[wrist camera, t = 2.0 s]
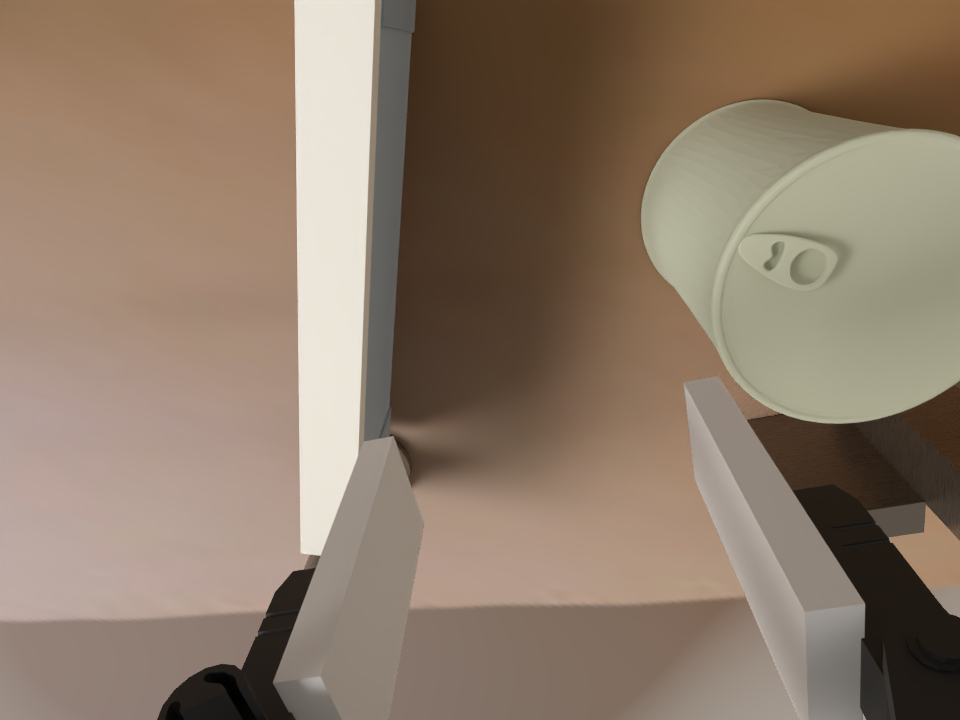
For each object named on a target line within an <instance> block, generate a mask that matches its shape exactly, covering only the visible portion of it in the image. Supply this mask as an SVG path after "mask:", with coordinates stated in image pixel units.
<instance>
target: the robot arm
mask: <svg viewBox="0 0 960 720" xmlns="http://www.w3.org/2000/svg"><path fill="white" fill-rule="evenodd" d="M684 391H685V399H686V408H687V416H688V425H689V433H690V442H691V450H692V459H693V467H694V475H695V481H696V483H697V486H698V488H699V490H700V492H701V495H702V497H703V499H704V502H705V504H706V506H707V509H708V511H709V513H710V515H711V518H712V520H713V522H714V525H715V527H716V529H717V532H718V534H719V536H720V538H721V541H722V543H723V545H724V548H725V550H726V552H727V555H728V557H729V559H730V561H731V564H732V566H733V568H734V571H735V573H736V575H737V578H738V580H739V582H740V584H741V587H742V589H743V591H744V594H745V596H746V598H747V600H748V603H749V605H750V607H751V610H752V612H753V614H754V617H755V619H756V621H757V624H758V626H759V628H760V630H761V633H762V635H763V637H764V640H765V642H766V644H767V647H768V649H769V651H770V653H771V656H772V658H773V660H774V663H775V665H776V667H777V670H778V672H779V674H780V676H781V679H782V681H783V683H784V686H785V688H786V690H787V693H788V695H789V697H790V700H791V702H792V704H793V706H794V709H795V711H796V713H797V716H798V718H799V720H863V714H864V716H865V718H866V720H960V618H959V617H957V616H954V615H950V614H949V613H948V612H947V611H946V610H945V609H944V608H943V607H942V606H941V604H940V603H939V602H938V601H937V599H936V598H935V597H934V595H933V594H932V593H931V592H930V590H929V589H928V588H927V587H926V585H925V584H924V583H923V581H922V580H921V579H920V578H919V576H918V575H917V574H916V572H915V571H914V570H913V569H912V567H911V566H910V565H909V563H908V562H907V561H906V560H905V558H904V557H903V556H902V555H901V553H900V552H899V551H898V549H897V548H896V547H895V546H894V544H893V543H890V541H889V538H888V537H887V535H886V534H885V533H884V532H883V530H882V529H881V528H880V526H879V525H876V523H875V520H874V519H873V517H872V516H871V515H870V514H869V512H868V511H867V510H866V509H865V507H864V506H863V505H862V503H861V502H860V501H859V500H858V499H856V498H855V497H853V496H851V495H850V494H848V493H847V492H845V491H843V490H842V489H840V488H838V487H837V486H835V485H834V484H831V485H824V486H818V487H812V488H806V489H799V490H793V491H792V490H791V488H790V487H789V485H788V484H787V482H786V480H785V479H784V477H783V476H782V474H781V473H780V471H779V470H778V468H777V467H776V465H775V463H774V462H773V460H772V459H771V457H770V456H769V454H768V453H767V451H766V450H765V448H764V446H763V445H762V443H761V442H760V440H759V439H758V437H757V436H756V434H755V433H754V431H753V429H752V428H751V426H750V425H749V423H748V422H747V420H746V419H745V417H744V415H743V414H742V412H741V411H740V409H739V408H738V406H737V405H736V403H735V402H734V400H733V398H732V397H731V395H730V394H729V392H728V391H727V389H726V388H725V386H724V385H723V383H722V381H721V380H720V378H719V377H718V376H715V377H709V378H704V379H699V380H693V381H688V382H684ZM423 528H424V522H423V519H422V517H421V514H420V511H419V508H418V505H417V502H416V499H415V496H414V493H413V491H412V488H411V485H410V482H409V479H408V476H407V473H406V470H405V468H404V465H403V462H402V459H401V456H400V453H399V450H398V447H397V444H396V442H395V439H394V436H391V437H386V438H380V439H375V440H369V441H364V442H363V445H362V447H361V450H360V453H359V455H358V458H357V461H356V463H355V466H354V468H353V471H352V474H351V476H350V479H349V482H348V484H347V487H346V490H345V492H344V495H343V498H342V500H341V503H340V506H339V508H338V511H337V514H336V516H335V519H334V522H333V524H332V527H331V530H330V532H329V535H328V538H327V540H326V543H325V545H324V548H323V551H322V553H321V556H320V559H319V561H318V564H317V567H316V568H312V569H305V570H299V571H293V572H292V573H291V574H290V576H289V577H288V578H287V579H286V580H285V581H284V583H283V584H282V585H281V586H280V587H279V588H278V590H277V591H276V592H275V594H274V596H273V599H272V601H271V603H270V606H269V608H268V610H267V612H266V618H264V619H263V622H262V624H261V626H260V629H259V631H258V637H256V638H255V640H254V642H253V645H252V647H251V649H250V652H249V654H248V656H247V658H246V661H245V663H244V665H243V668H242V670H240V669H239V668H237V667H236V666H235V665H226V664H220V665H216V666H212V667H208V668H205V669H203V670H202V671H200V672H198V673H196V674H194V675H193V676H191V677H189V678H188V679H187V680H186V681H185V682H183V683H182V684H181V685H180V686H179V687H178V688H176V689H175V690H174V691H173V693H172V694H171V695H170V697H169V698H168V700H167V701H166V702H165V703H164V705H163V707H162V709H161V711H160V714H159V717H158V719H157V720H389V715H390V710H391V704H392V699H393V693H394V688H395V682H396V677H397V671H398V666H399V660H400V655H401V649H402V644H403V638H404V633H405V627H406V621H407V616H408V611H409V605H410V600H411V594H412V589H413V583H414V578H415V572H416V567H417V561H418V556H419V550H420V545H421V539H422V534H423Z"/></svg>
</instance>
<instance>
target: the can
mask: <svg viewBox="0 0 960 720" xmlns="http://www.w3.org/2000/svg"><path fill="white" fill-rule="evenodd" d="M641 229H642V236H643V240H644V244H645V247H646V250H647V253H648V255H649V257H650V259H651V261H652V263H653V265H654V266H655V268H656V269H657V270H658V272H659V273H660V274H661V275H662V277H663V278H664V279H665V280H666V281H667V282H669V283H670V284H671V285H672V286H673V287H674V288H675V289H676V290H677V292H678V293H679V295H680V296H681V297H682V299H683V300H684V302H685V303H686V304H687V306H688V307H689V309H690V310H691V311H692V313H693V314H694V316H695V317H696V319H697V320H698V322H699V323H700V325H701V326H702V328H703V329H704V331H705V332H706V333H707V335H708V336H709V338H710V339H711V341H712V342H713V344H714V346H715V347H716V349H717V350H718V353H719V355H720V357H721V359H722V361H723V363H724V365H725V367H726V368H727V370H728V372H729V373H730V374H731V376H732V377H733V378H734V380H735V381H736V382H737V383H738V384H739V385H740V386H741V387H742V388H743V389H744V390H745V391H746V392H747V393H748V394H749V395H751V396H752V397H753V398H755V399H756V400H757V401H759V402H760V403H762V404H763V405H765V406H767V407H769V408H771V409H772V410H774V411H777V412H779V413H782V414H784V415H787V416H790V417H793V418H797V419H800V420H805V421H811V422H818V423H834V424H843V423H857V422H864V421H870V420H875V419H880V418H884V417H887V416H891V415H894V414H897V413H900V412H903V411H905V410H908V409H911V408H913V407H916V406H918V405H920V404H922V403H924V402H926V401H928V400H930V399H932V398H934V397H936V396H937V395H939V394H940V393H942V392H944V391H945V390H947V389H949V388H950V387H952V386H953V385H955V384H956V383H957V382H959V381H960V136H957V135H954V134H950V133H946V132H941V131H936V130H928V129H904V128H897V127H891V126H885V125H879V124H873V123H867V122H861V121H856V120H851V119H846V118H841V117H836V116H830V115H825V114H820V113H815V112H810V111H808V110H807V109H804V108H802V107H800V106H798V105H794V104H791V103H788V102H783V101H778V100H768V99H759V100H747V101H742V102H737V103H733V104H730V105H727V106H724V107H721V108H719V109H717V110H714V111H712V112H710V113H708V114H706V115H704V116H703V117H701V118H700V119H698V120H696V121H695V122H694V123H692V124H691V125H690V126H688V127H687V128H686V129H685V130H683V131H682V132H681V133H680V134H679V135H678V136H677V137H676V138H675V139H674V140H673V141H672V142H671V143H670V145H669V146H668V147H667V148H666V149H665V151H664V152H663V153H662V155H661V156H660V158H659V160H658V161H657V163H656V165H655V167H654V168H653V170H652V172H651V175H650V177H649V179H648V182H647V185H646V188H645V192H644V196H643V200H642V208H641Z"/></svg>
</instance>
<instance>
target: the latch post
mask: <svg viewBox="0 0 960 720" xmlns="http://www.w3.org/2000/svg"><path fill="white" fill-rule="evenodd" d="M747 422H748V423H749V425H750V426H751V428H752V429H753V431H754V433H755V434H756V436H757V437H758V439H759V440H760V442H761V443H762V445H763V446H764V448H765V450H766V451H767V453H768V454H769V456H770V457H771V459H772V460H773V462H774V463H775V465H776V467H777V468H778V470H779V471H780V473H781V474H782V476H783V477H784V479H785V480H786V482H787V484H788V485H789V487H790V488H791V490H792V491H793V490H799V489H806V488H812V487H818V486H824V485H831V484H834V485H835V486H837V487H838V488H840V489H842V490H843V491H845V492H847V493H848V494H850V495H851V496H853V497H855V498H856V499H858V500H859V501H860V502H861V503H862V505H863V506H864V507H865V509H866V510H867V511H868V512H869V514H870V515H871V516H872V517H873V519H874V520H875V523H876V525H879V526H880V528H881V529H882V530H883V532H884V533H885V534H886V535H887V537H893V536H900V535H907V534H914V533H921V532H924V523H925V508H926V505H927V506H928V507H929V508H930V509H931V510H932V511H933V512H934V513H935V514H936V515H937V516H938V518H939V519H940V520H941V521H942V522H943V523H944V524H945V525H946V526H947V527H948V528H949V529H950V531H951V532H952V533H953V534H954V535H955V536H956V537H957V538H958V539H959V540H960V389H959V388H957V387H956V386H955V385H953V386H952V387H950V388H949V389H947V390H945V391H944V392H942V393H940V394H939V395H937V396H936V397H934V398H932V399H930V400H928V401H926V402H924V403H922V404H920V405H918V406H916V407H913V408H911V409H908V410H905V411H903V412H900V413H897V414H894V415H891V416H887V417H884V418H880V419H875V420H870V421H864V422H857V423H843V424H834V423H818V422H811V421H805V420H800V419H797V418H793V417H790V416H787V415H784V414H781V415H775V416H769V417H764V418H758V419H752V420H747Z"/></svg>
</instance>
